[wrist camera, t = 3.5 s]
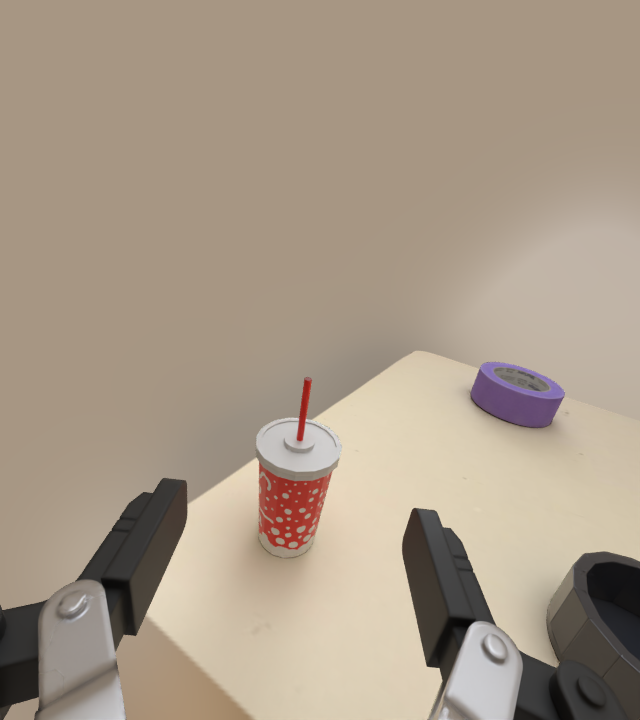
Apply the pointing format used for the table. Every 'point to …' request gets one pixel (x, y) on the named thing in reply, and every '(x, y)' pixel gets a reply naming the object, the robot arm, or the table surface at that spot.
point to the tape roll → (516, 394)
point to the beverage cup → (293, 479)
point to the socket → (601, 622)
